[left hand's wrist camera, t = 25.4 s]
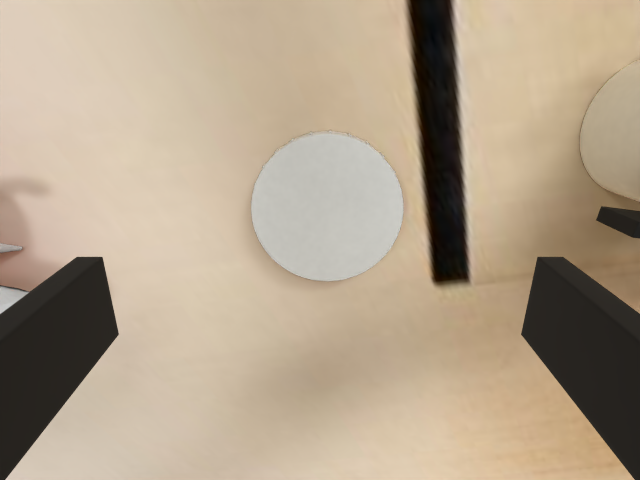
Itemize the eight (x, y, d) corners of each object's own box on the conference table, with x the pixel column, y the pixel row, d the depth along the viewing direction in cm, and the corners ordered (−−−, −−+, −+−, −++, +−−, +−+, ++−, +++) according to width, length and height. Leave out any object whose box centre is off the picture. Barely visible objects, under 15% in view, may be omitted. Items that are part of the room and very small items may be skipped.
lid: (269, 278, 28) (266, 291, 26) (240, 142, 25) (234, 146, 23) (405, 260, 28) (410, 272, 26) (391, 118, 25) (397, 120, 23)
